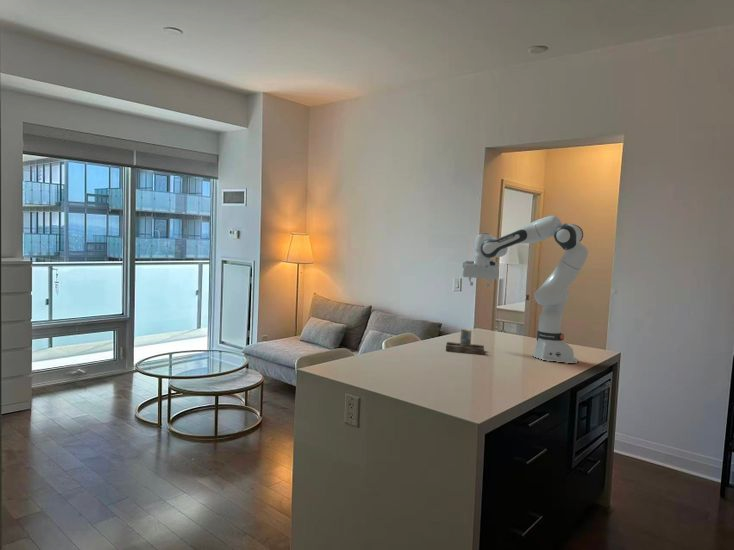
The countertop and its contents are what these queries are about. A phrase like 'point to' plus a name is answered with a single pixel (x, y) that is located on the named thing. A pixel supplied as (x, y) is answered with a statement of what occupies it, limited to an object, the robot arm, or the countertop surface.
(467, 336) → the wooden block
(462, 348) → the bridge
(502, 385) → the countertop surface
